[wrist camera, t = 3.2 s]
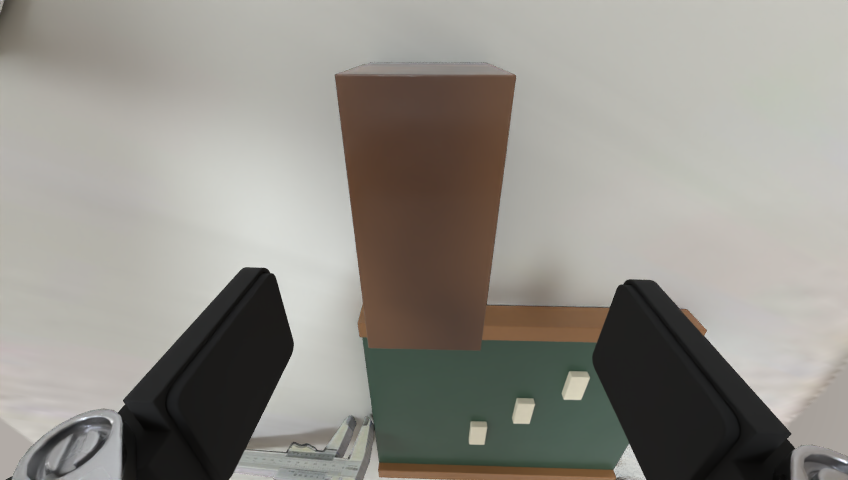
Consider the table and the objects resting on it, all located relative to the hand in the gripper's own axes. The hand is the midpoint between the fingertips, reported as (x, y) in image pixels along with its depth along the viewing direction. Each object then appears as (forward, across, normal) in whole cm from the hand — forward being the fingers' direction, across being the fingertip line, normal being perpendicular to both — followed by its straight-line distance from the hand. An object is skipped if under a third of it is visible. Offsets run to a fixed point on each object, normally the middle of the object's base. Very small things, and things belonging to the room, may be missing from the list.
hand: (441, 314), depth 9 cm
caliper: (+9, +15, +23) cm, 29 cm away
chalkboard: (+9, -5, +17) cm, 20 cm away
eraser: (+9, +1, 0) cm, 9 cm away
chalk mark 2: (+8, -6, +16) cm, 19 cm away
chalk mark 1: (+8, -3, +19) cm, 21 cm away
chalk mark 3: (+8, -9, +13) cm, 18 cm away
